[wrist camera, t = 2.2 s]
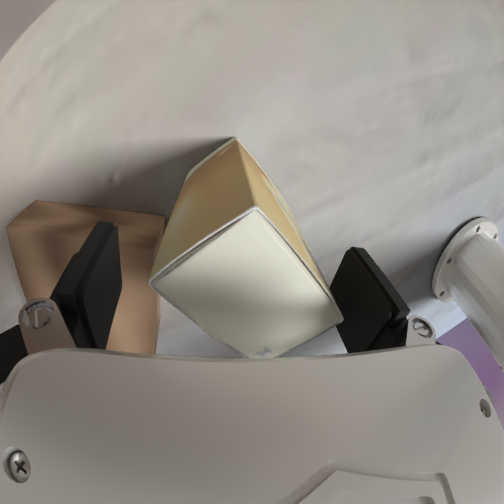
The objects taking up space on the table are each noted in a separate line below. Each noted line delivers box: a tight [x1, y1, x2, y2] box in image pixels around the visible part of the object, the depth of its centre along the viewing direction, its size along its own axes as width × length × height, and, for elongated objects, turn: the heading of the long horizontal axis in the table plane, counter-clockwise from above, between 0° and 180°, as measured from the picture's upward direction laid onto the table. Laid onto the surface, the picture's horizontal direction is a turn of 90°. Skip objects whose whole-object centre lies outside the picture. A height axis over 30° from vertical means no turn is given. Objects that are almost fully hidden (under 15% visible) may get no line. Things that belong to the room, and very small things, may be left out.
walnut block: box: [6, 200, 166, 354], centre depth 20 cm, size 12×12×5 cm
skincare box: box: [148, 137, 344, 358], centre depth 14 cm, size 6×4×12 cm
